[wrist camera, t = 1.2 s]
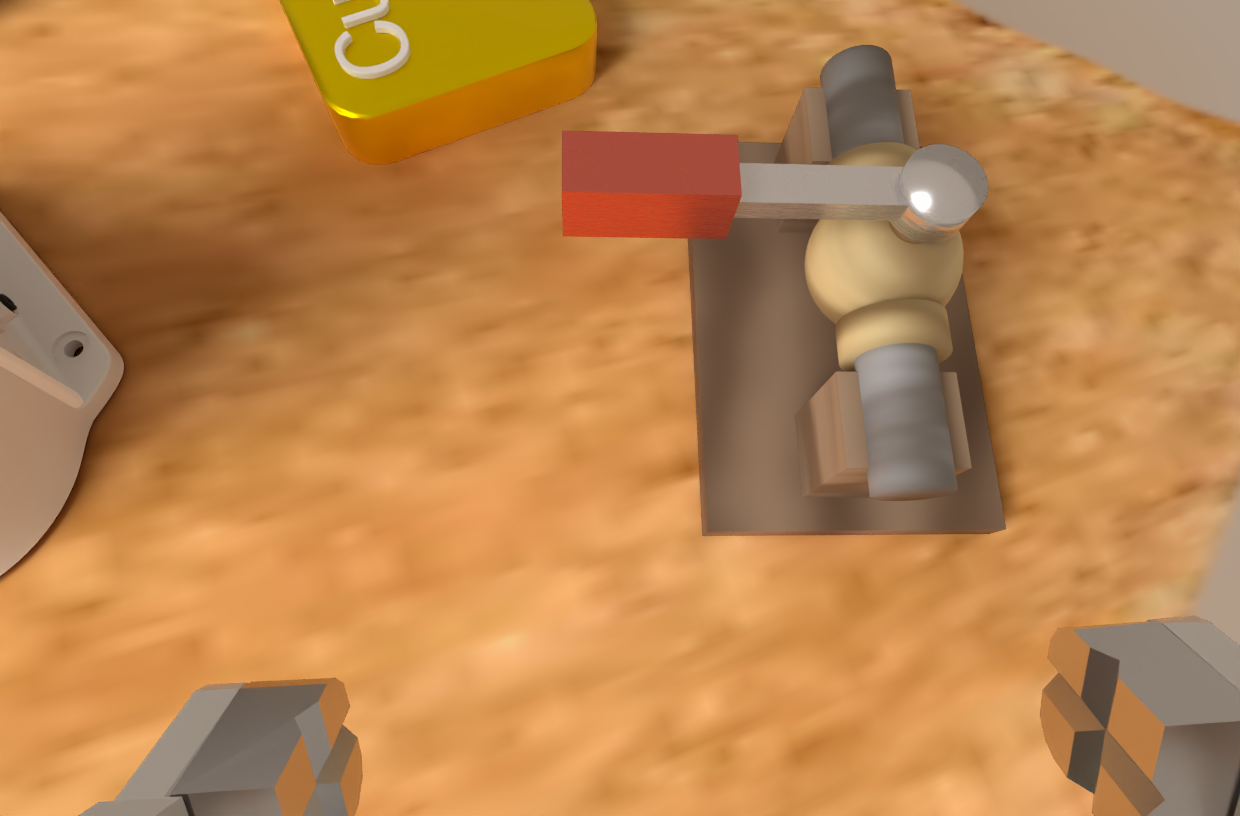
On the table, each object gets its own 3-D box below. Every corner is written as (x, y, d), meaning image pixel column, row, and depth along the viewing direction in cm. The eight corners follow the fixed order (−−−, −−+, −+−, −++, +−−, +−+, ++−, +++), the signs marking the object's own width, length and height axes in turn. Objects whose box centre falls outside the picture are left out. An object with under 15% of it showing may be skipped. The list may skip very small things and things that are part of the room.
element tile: (607, 91, 44) (612, 26, 39) (358, 180, 41) (332, 121, 36) (505, -90, 48) (497, -169, 43) (270, -20, 45) (236, -96, 40)
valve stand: (702, 535, 36) (758, 485, 25) (683, 158, 42) (722, -13, 31) (989, 533, 37) (1164, 484, 26) (928, 163, 43) (1047, -1, 32)
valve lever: (563, 243, 27) (561, 199, 25) (563, 172, 28) (562, 123, 26) (963, 249, 28) (1003, 208, 26) (951, 181, 29) (989, 134, 27)
